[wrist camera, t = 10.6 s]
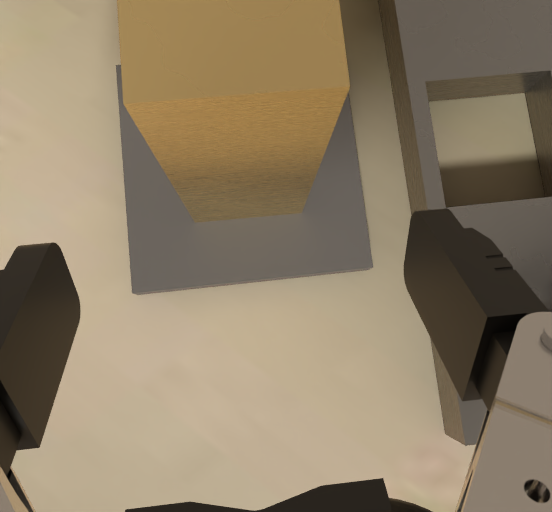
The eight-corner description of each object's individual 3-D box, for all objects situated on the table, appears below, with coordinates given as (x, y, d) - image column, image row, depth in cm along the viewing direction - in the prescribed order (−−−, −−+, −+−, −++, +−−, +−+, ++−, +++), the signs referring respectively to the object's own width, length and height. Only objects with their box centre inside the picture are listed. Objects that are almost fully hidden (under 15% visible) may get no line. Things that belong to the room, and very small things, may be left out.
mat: (122, 77, 22) (116, 65, 21) (338, 58, 23) (341, 46, 22) (137, 294, 21) (132, 293, 20) (367, 269, 21) (372, 266, 20)
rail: (366, -74, 24) (378, -116, 22) (505, -84, 24) (531, -126, 22) (445, 434, 21) (468, 447, 18) (604, 414, 21) (647, 424, 19)
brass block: (187, 120, 21) (111, -100, 10) (290, 112, 21) (324, -112, 10) (195, 222, 20) (123, 103, 10) (301, 212, 21) (350, 86, 10)
